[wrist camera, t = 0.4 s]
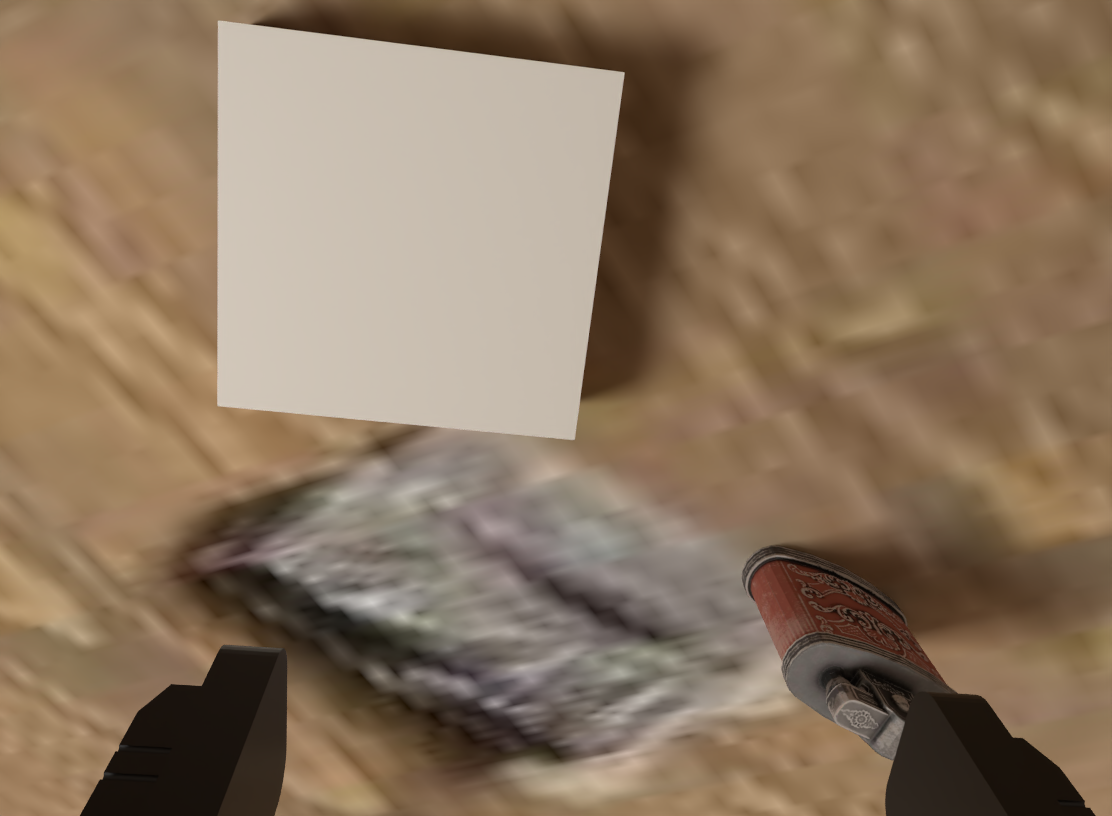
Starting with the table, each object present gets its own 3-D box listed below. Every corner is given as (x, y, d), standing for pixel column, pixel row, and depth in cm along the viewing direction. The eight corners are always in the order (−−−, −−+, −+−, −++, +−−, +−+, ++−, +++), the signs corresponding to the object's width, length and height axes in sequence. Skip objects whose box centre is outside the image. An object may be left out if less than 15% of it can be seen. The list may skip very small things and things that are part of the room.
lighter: (726, 590, 43) (786, 740, 34) (767, 530, 42) (840, 666, 33) (873, 659, 45) (969, 820, 35) (915, 602, 44) (1026, 752, 34)
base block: (250, 24, 34) (218, 20, 30) (612, 70, 35) (624, 72, 31) (246, 371, 38) (217, 406, 35) (568, 403, 40) (574, 440, 36)
